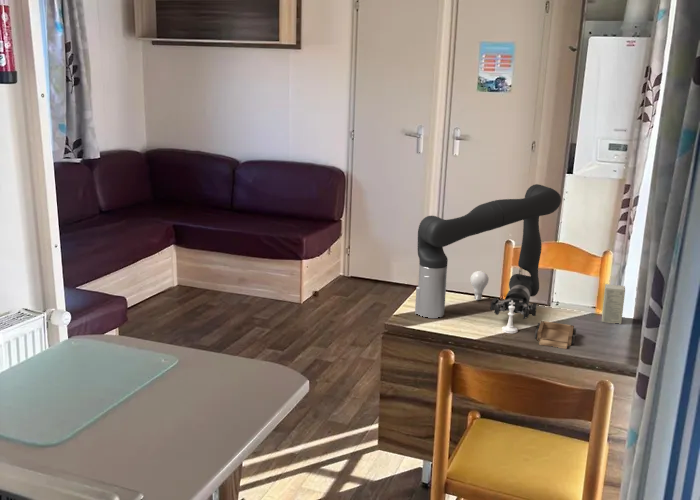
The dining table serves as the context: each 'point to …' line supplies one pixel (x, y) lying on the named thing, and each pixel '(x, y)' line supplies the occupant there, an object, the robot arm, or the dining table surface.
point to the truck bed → (555, 334)
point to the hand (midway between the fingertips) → (510, 313)
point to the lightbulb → (479, 283)
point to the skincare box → (613, 303)
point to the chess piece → (510, 321)
